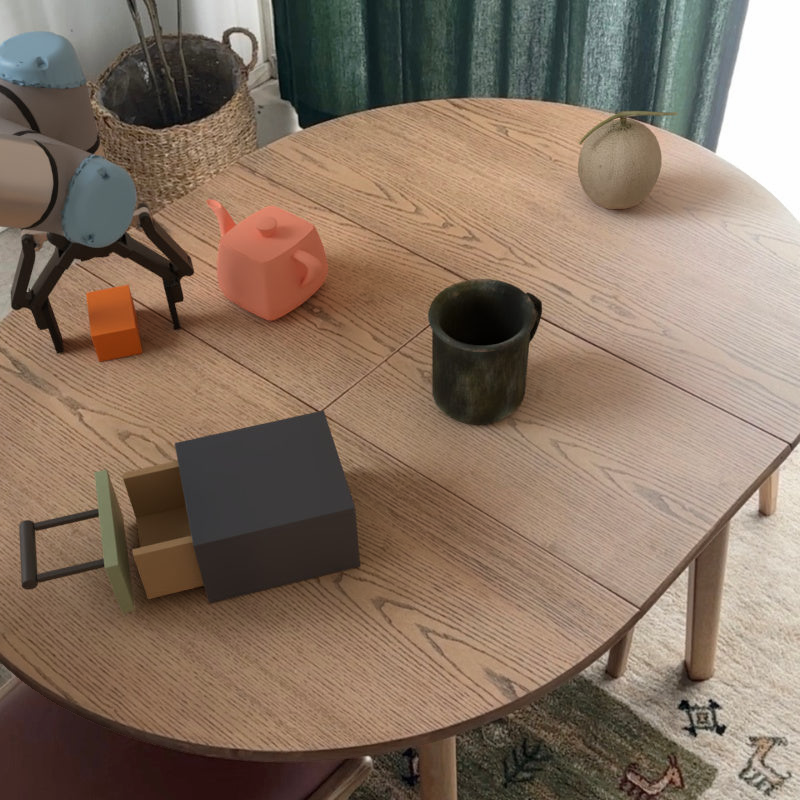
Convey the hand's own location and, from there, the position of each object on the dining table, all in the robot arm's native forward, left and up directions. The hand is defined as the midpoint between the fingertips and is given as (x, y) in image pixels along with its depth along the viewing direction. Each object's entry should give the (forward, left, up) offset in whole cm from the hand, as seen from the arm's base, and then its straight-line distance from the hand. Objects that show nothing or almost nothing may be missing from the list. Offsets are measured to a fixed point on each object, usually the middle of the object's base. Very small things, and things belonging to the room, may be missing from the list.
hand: (118, 333), depth 125 cm
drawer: (0, -34, +1) cm, 34 cm away
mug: (+39, -21, 0) cm, 44 cm away
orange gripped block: (0, 0, 0) cm, 0 cm away
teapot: (+19, +3, 0) cm, 19 cm away
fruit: (+66, +7, 0) cm, 66 cm away
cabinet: (+12, -34, 0) cm, 36 cm away
